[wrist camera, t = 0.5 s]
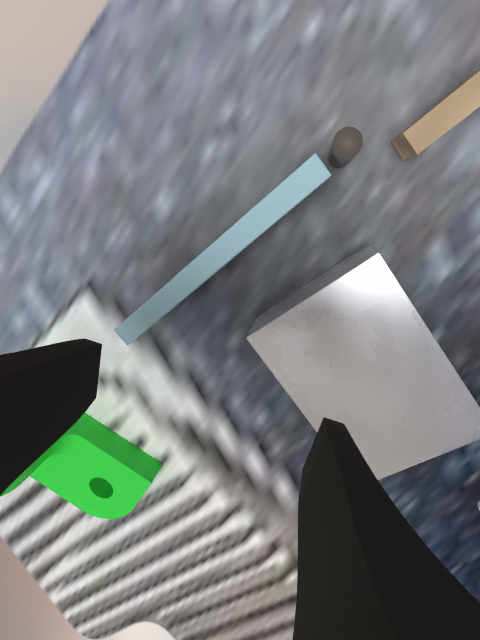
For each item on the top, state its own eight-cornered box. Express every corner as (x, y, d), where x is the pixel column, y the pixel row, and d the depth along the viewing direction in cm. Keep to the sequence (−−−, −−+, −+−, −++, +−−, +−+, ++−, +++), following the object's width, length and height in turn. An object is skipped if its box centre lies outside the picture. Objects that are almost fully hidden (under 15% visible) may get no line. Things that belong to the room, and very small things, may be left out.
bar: (328, 179, 17) (331, 175, 13) (160, 319, 21) (127, 345, 18) (315, 162, 17) (315, 153, 13) (149, 306, 21) (113, 329, 18)
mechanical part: (-2, 423, 27) (-120, 508, 20) (20, 367, 25) (-103, 439, 18) (129, 509, 28) (60, 624, 20) (163, 461, 25) (100, 571, 18)
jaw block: (466, 393, 20) (495, 432, 16) (352, 444, 22) (358, 487, 19) (367, 242, 18) (378, 252, 15) (256, 315, 21) (246, 337, 17)
